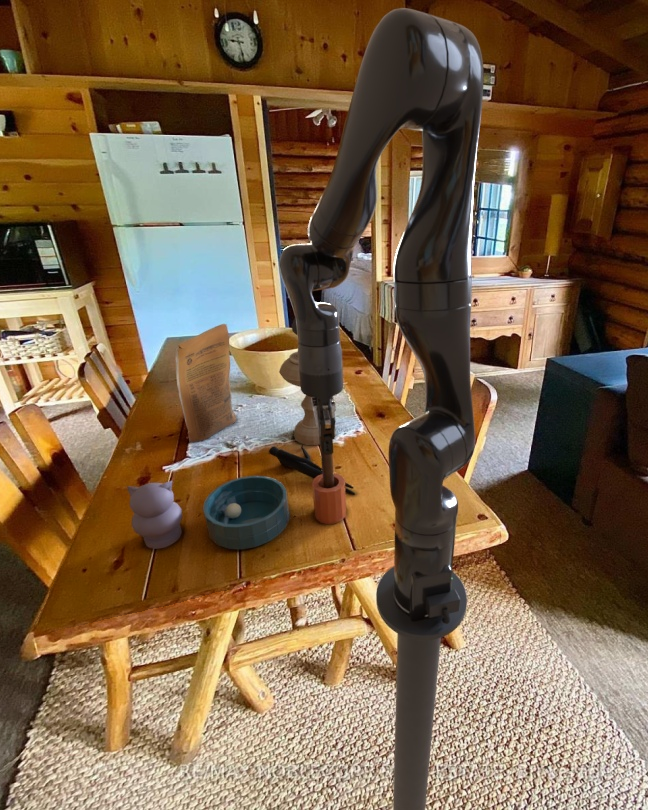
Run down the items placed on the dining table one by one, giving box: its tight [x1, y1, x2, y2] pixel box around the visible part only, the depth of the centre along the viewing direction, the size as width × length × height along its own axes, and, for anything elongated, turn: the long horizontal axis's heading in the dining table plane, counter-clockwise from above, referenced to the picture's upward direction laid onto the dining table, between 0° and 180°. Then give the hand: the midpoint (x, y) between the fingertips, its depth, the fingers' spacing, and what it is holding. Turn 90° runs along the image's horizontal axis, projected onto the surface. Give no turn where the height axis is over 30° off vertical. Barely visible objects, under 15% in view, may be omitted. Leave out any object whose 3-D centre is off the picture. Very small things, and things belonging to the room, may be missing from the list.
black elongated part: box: [268, 444, 356, 496], centre depth 103 cm, size 8×9×25 cm
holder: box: [311, 472, 347, 525], centre depth 89 cm, size 6×6×8 cm
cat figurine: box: [126, 480, 183, 550], centre depth 82 cm, size 8×8×12 cm
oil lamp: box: [278, 317, 320, 446], centre depth 110 cm, size 15×15×40 cm
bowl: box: [202, 475, 290, 550], centre depth 87 cm, size 15×15×6 cm
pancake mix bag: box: [174, 323, 237, 443], centre depth 115 cm, size 7×19×28 cm, turn 155°
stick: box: [319, 443, 335, 489], centre depth 86 cm, size 2×2×20 cm
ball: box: [225, 503, 241, 519], centre depth 88 cm, size 3×3×3 cm
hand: (326, 449), depth 84 cm, fingers closed on stick, 2 cm apart
